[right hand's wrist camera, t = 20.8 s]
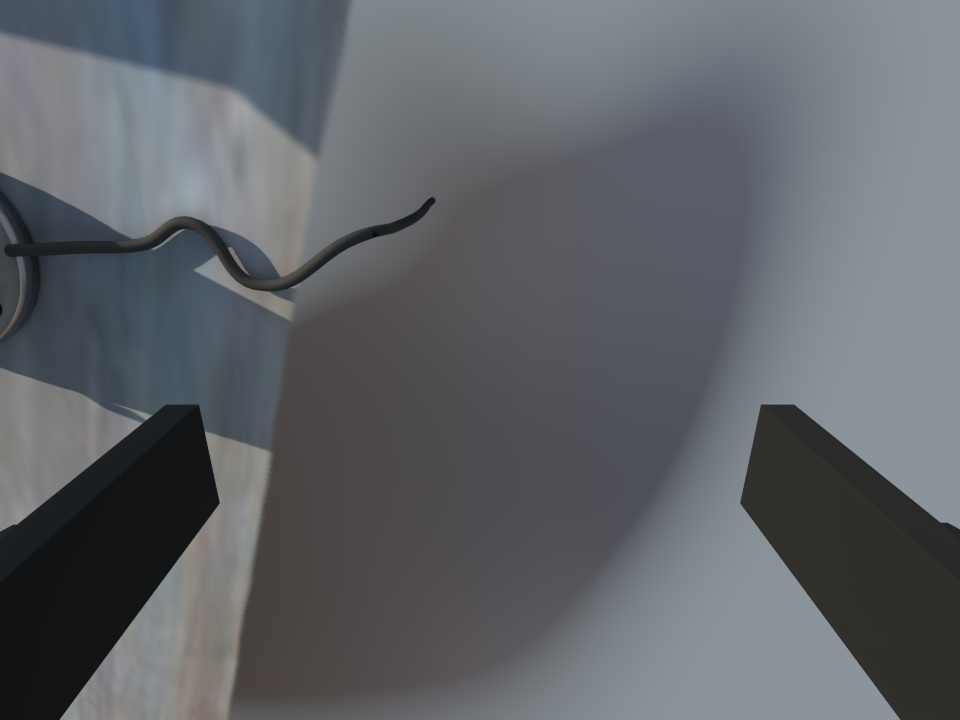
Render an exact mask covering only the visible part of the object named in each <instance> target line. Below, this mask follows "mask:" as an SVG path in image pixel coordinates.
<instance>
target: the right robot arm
mask: <svg viewBox="0 0 960 720" xmlns="http://www.w3.org/2000/svg"><path fill="white" fill-rule="evenodd" d="M435 202H436V199H435V198H434V197H431V198H429V199H428V200H427V201H426V202H425V203H424V204H423V205H422V206H421V207H420V209H418V210H417V211H415V212H414V213H412V214H410V215H408V216H406V217H404V218H402V219H399V220H397V221H394V222H391V223H388V224H382V225H375V226H371V227H367V228H364V229H361V230H358V231H355V232H352V233H350V234H348V235H346V236H344V237H342V238H340V239H338V240H337V241H335V242H333V243H332V244H330V245H329V246H327V247H326V248H325V249H323V250H322V251H321V252H319V253H318V254H317V255H316V256H314V257H313V258H312V259H311V260H309V261H308V262H307V263H306V264H304V265H303V266H302V267H300V268H299V269H298V270H296V271H295V272H293V273H291V274H289V275H287V276H285V277H282V278H279V279H274V280H262V279H256V278H253V277H250V276H249V275H247V274H246V273H245V272H244V271H242V270H241V268H240V267H239V266H238V265H237V263H236V262H235V260H234V259H233V257H232V255H231V254H230V252H229V250H228V249H227V247H226V245H225V244H224V242H223V241H222V239H221V238H220V237H219V235H218V234H217V233H216V232H215V231H214V230H213V229H212V228H211V227H210V226H209V225H207V224H206V223H204V222H203V221H200V220H197V219H195V218H192V217H186V216H183V217H176V218H173V219H171V220H169V221H167V222H166V223H165V224H163V225H162V226H161V227H160V228H158V229H157V230H156V231H155V232H153V233H152V234H150V235H148V236H146V237H143V238H139V239H134V240H126V241H72V242H52V243H31V240H30V237H29V235H28V233H27V231H26V228H25V226H24V225H23V223H22V221H21V219H20V217H19V216H18V214H17V213H16V211H15V210H14V208H13V207H12V205H11V204H10V203H9V202H8V200H7V199H6V198H5V196H4V195H3V194H2V193H1V192H0V341H2V340H4V339H6V338H8V337H9V336H11V335H12V334H13V333H15V332H16V331H17V330H18V329H19V328H20V327H21V326H22V325H23V324H24V323H25V321H26V320H27V318H28V317H29V315H30V313H31V311H32V309H33V307H34V304H35V301H36V297H37V292H38V279H39V278H38V266H37V260H36V256H43V255H62V254H83V253H130V252H138V251H143V250H148V249H151V248H154V247H156V246H158V245H159V244H161V243H162V242H164V241H165V240H166V239H167V238H169V237H170V236H171V235H172V234H174V233H175V232H177V231H179V230H181V229H191V230H194V231H196V232H198V233H200V234H201V235H202V236H203V237H204V238H205V239H206V240H207V241H208V242H209V244H210V245H211V246H212V248H213V249H214V251H215V253H216V254H217V256H218V257H219V259H220V261H221V262H222V264H223V265H224V267H225V268H226V270H227V271H228V272H229V274H230V275H231V276H232V277H233V278H234V279H235V280H236V281H237V282H238V283H240V284H242V285H243V286H245V287H247V288H250V289H253V290H261V291H279V290H284V289H287V288H290V287H292V286H295V285H297V284H298V283H300V282H302V281H303V280H305V279H306V278H308V277H309V276H311V275H312V274H313V273H314V272H316V271H317V270H318V269H320V268H321V267H322V266H323V265H324V264H326V263H327V262H328V261H330V260H331V259H332V258H334V257H335V256H337V255H338V254H339V253H341V252H343V251H344V250H346V249H348V248H350V247H352V246H354V245H356V244H358V243H361V242H363V241H366V240H369V239H372V238H375V237H379V236H384V235H389V234H393V233H396V232H398V231H400V230H403V229H405V228H407V227H409V226H411V225H413V224H414V223H416V222H418V221H419V220H420V219H421V218H422V217H423V216H424V215H425V214H426V213H427V212H428V210H429V209H430V207H431V206H432V205H433V204H434V203H435ZM740 503H741V505H742V506H743V508H744V509H745V510H746V512H747V513H748V514H749V516H750V517H751V518H752V520H753V521H754V522H755V524H756V525H757V526H758V528H759V529H760V531H761V532H762V533H763V535H764V536H765V537H766V539H767V540H768V541H769V543H770V544H771V545H772V547H773V548H774V549H775V551H776V552H777V553H778V555H779V556H780V558H781V559H782V560H783V562H784V563H785V564H786V566H787V567H788V568H789V570H790V571H791V572H792V574H793V575H794V576H795V578H796V579H797V581H798V582H799V583H800V585H801V586H802V587H803V589H804V590H805V591H806V593H807V594H808V595H809V597H810V598H811V599H812V601H813V602H814V603H815V605H816V606H817V608H818V609H819V610H820V612H821V613H822V614H823V616H824V617H825V618H826V620H827V621H828V622H829V624H830V625H831V626H832V628H833V629H834V630H835V632H836V633H837V635H838V636H839V637H840V639H841V640H842V641H843V643H844V644H845V645H846V647H847V648H848V649H849V651H850V652H851V653H852V655H853V656H854V658H855V659H856V660H857V662H858V663H859V664H860V666H861V667H862V668H863V670H864V671H865V672H866V674H867V675H868V676H869V678H870V679H871V680H872V682H873V683H874V685H875V686H876V687H877V689H878V690H879V691H880V693H881V694H882V695H883V697H884V698H885V699H886V701H887V702H888V703H889V705H890V706H891V707H892V709H893V710H894V711H895V713H896V714H897V716H898V717H899V718H900V720H960V529H958V528H956V527H954V526H952V525H950V524H949V523H940V522H939V521H938V520H936V519H935V518H934V517H933V516H931V515H930V514H929V513H928V512H926V511H925V510H924V509H923V508H922V507H920V506H919V505H918V504H917V503H915V502H914V501H913V500H912V499H910V498H909V497H908V496H907V495H905V494H904V493H903V492H902V491H900V490H899V489H898V488H897V487H896V486H894V485H893V484H892V483H891V482H889V481H888V480H887V479H886V478H884V477H883V476H882V475H881V474H879V473H878V472H877V471H876V470H874V469H873V468H872V467H871V466H869V465H868V464H867V463H866V462H864V461H863V460H862V459H861V458H860V457H858V456H857V455H856V454H855V453H853V452H852V451H851V450H850V449H848V448H847V447H846V446H845V445H843V444H842V443H841V442H840V441H838V440H837V439H836V438H835V437H833V436H832V435H831V434H830V433H829V432H827V431H826V430H825V429H824V428H822V427H821V426H820V425H819V424H817V423H816V422H815V421H814V420H812V419H811V418H810V417H809V416H807V415H806V414H805V413H804V412H802V411H801V410H800V409H799V408H797V407H796V406H795V405H761V408H760V413H759V417H758V422H757V427H756V431H755V436H754V441H753V446H752V450H751V455H750V460H749V464H748V469H747V474H746V479H745V483H744V488H743V493H742V498H741V502H740ZM219 504H220V502H219V497H218V493H217V488H216V483H215V479H214V474H213V469H212V464H211V460H210V455H209V450H208V446H207V441H206V436H205V431H204V427H203V422H202V417H201V413H200V408H199V405H165V406H164V407H162V408H161V409H160V410H159V411H158V412H156V413H155V414H154V415H153V416H151V417H150V418H149V419H148V420H146V421H145V422H144V423H143V424H141V425H140V426H139V427H138V428H136V429H135V430H134V431H133V432H131V433H130V434H129V435H128V436H127V437H125V438H124V439H123V440H122V441H120V442H119V443H118V444H117V445H115V446H114V447H113V448H112V449H110V450H109V451H108V452H107V453H105V454H104V455H103V456H102V457H100V458H99V459H98V460H97V461H96V462H94V463H93V464H92V465H91V466H89V467H88V468H87V469H86V470H84V471H83V472H82V473H81V474H79V475H78V476H77V477H76V478H74V479H73V480H72V481H71V482H69V483H68V484H67V485H66V486H64V487H63V488H62V489H61V490H60V491H58V492H57V493H56V494H55V495H53V496H52V497H51V498H50V499H48V500H47V501H46V502H45V503H43V504H42V505H41V506H40V507H38V508H37V509H36V510H35V511H33V512H32V513H31V514H30V515H29V516H27V517H26V518H25V519H24V520H22V521H21V522H20V523H19V524H17V525H12V526H10V527H8V528H6V529H4V530H3V531H1V532H0V720H60V718H61V717H62V716H63V714H64V713H65V712H66V710H67V709H68V708H69V706H70V705H71V703H72V702H73V701H74V699H75V698H76V697H77V695H78V694H79V693H80V691H81V690H82V689H83V687H84V686H85V685H86V683H87V682H88V681H89V679H90V678H91V676H92V675H93V674H94V672H95V671H96V670H97V668H98V667H99V666H100V664H101V663H102V662H103V660H104V659H105V658H106V656H107V655H108V653H109V652H110V651H111V649H112V648H113V647H114V645H115V644H116V643H117V641H118V640H119V639H120V637H121V636H122V635H123V633H124V632H125V631H126V629H127V628H128V626H129V625H130V624H131V622H132V621H133V620H134V618H135V617H136V616H137V614H138V613H139V612H140V610H141V609H142V608H143V606H144V605H145V604H146V602H147V601H148V599H149V598H150V597H151V595H152V594H153V593H154V591H155V590H156V589H157V587H158V586H159V585H160V583H161V582H162V581H163V579H164V578H165V576H166V575H167V574H168V572H169V571H170V570H171V568H172V567H173V566H174V564H175V563H176V562H177V560H178V559H179V558H180V556H181V555H182V554H183V552H184V551H185V549H186V548H187V547H188V545H189V544H190V543H191V541H192V540H193V539H194V537H195V536H196V535H197V533H198V532H199V531H200V529H201V528H202V526H203V525H204V524H205V522H206V521H207V520H208V518H209V517H210V516H211V514H212V513H213V512H214V510H215V509H216V508H217V506H218V505H219Z"/></svg>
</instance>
